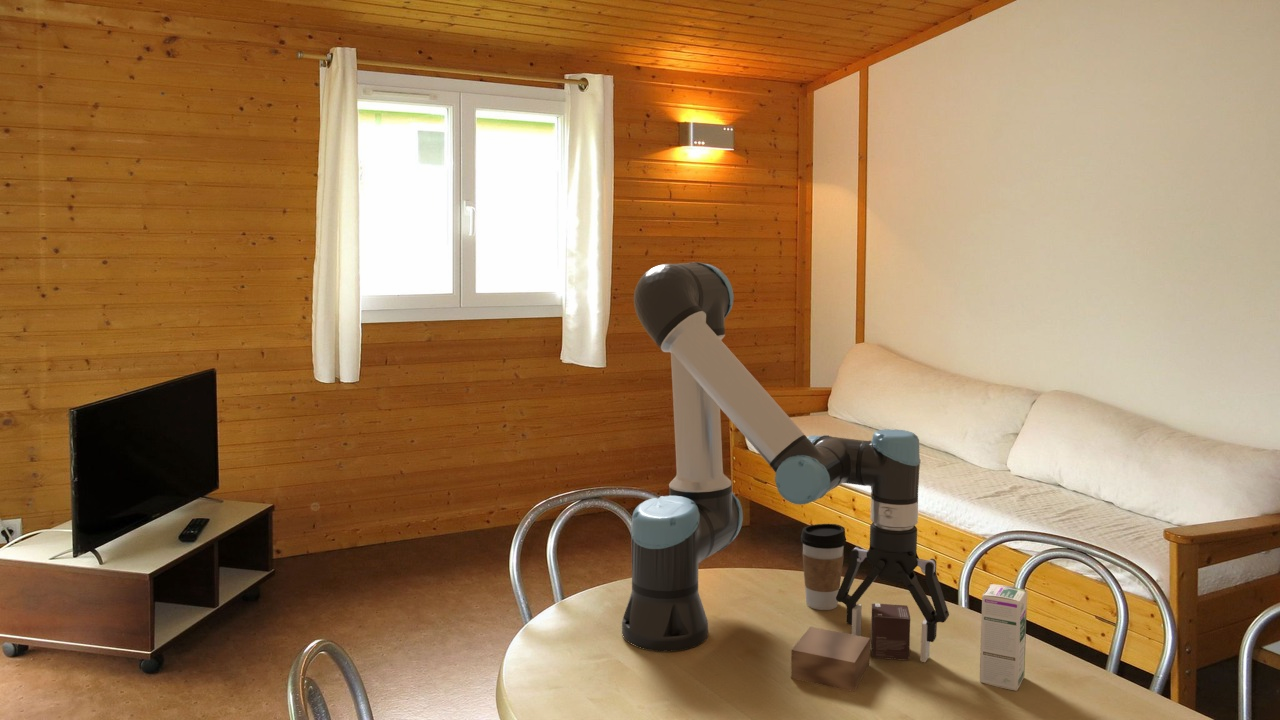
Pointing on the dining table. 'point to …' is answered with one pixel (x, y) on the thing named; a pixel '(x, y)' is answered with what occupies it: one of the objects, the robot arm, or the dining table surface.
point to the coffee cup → (822, 564)
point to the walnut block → (830, 658)
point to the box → (890, 631)
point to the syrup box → (1003, 636)
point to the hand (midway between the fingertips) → (889, 650)
